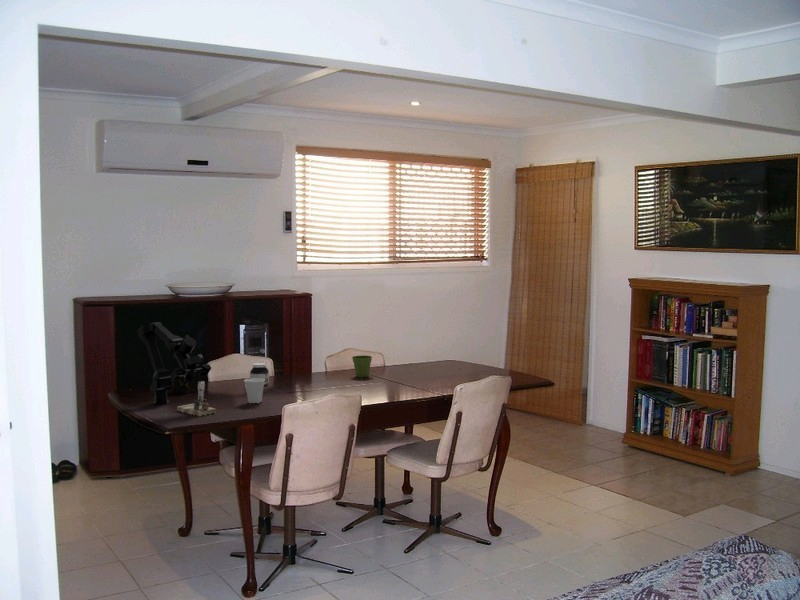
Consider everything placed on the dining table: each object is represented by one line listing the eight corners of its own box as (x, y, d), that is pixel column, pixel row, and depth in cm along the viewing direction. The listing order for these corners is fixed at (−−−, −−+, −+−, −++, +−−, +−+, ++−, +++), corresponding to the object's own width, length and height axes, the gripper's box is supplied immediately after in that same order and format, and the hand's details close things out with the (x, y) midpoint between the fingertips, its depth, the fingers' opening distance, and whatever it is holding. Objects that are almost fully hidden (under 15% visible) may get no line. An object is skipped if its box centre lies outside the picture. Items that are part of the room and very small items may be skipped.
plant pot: (350, 375, 461) (350, 355, 460) (371, 374, 463) (370, 355, 462) (353, 378, 450) (353, 358, 449) (374, 378, 452) (374, 358, 451)
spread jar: (258, 387, 425) (258, 365, 424) (242, 385, 431) (242, 364, 430) (273, 384, 435) (273, 362, 434) (257, 382, 441) (257, 361, 440)
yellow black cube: (200, 390, 418) (200, 371, 418) (188, 393, 409) (187, 374, 408) (185, 388, 423) (184, 370, 422) (172, 392, 414) (171, 373, 413)
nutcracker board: (177, 410, 369) (177, 397, 369) (194, 407, 376) (193, 395, 376) (199, 416, 358) (199, 403, 357) (216, 413, 364) (216, 400, 364)
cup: (245, 400, 392) (245, 378, 391) (266, 400, 392) (265, 377, 391) (243, 404, 382) (242, 382, 381) (264, 404, 383) (263, 381, 382)
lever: (195, 405, 364) (196, 381, 363) (201, 404, 367) (202, 380, 365) (199, 407, 362) (200, 383, 361) (205, 406, 365) (206, 382, 363)
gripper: (173, 351, 360) (188, 378, 353) (208, 347, 374) (223, 373, 367) (164, 367, 366) (178, 394, 359) (199, 362, 379) (213, 388, 373)
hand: (199, 386), depth 364 cm, fingers closed, pressing on lever
